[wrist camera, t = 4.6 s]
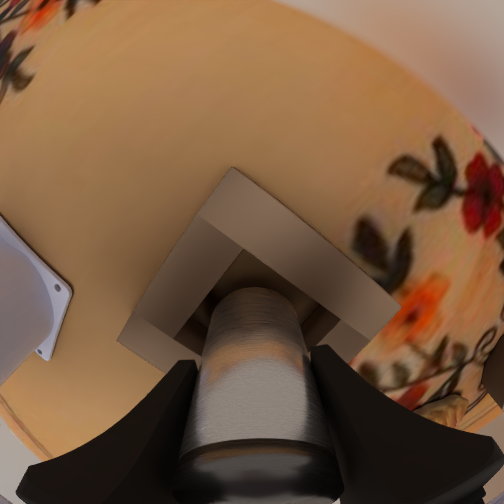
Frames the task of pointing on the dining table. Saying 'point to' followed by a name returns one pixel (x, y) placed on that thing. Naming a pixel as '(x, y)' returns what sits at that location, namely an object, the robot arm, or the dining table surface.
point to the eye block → (269, 252)
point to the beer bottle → (495, 374)
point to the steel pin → (256, 412)
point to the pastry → (445, 410)
